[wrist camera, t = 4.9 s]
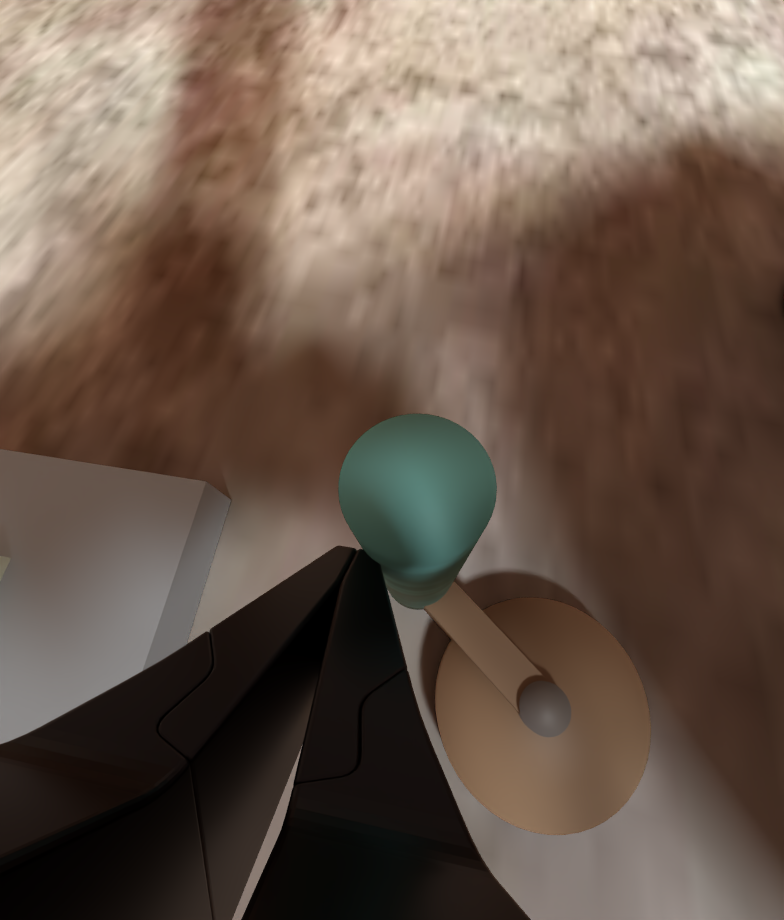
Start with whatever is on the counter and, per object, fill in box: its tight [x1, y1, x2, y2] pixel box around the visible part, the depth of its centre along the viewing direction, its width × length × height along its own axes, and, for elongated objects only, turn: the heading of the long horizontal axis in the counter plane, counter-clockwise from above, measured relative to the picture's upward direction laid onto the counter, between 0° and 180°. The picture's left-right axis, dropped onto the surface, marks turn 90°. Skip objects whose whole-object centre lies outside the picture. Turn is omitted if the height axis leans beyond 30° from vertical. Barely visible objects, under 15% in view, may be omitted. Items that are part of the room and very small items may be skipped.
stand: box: [0, 449, 231, 744], centre depth 16 cm, size 14×10×5 cm
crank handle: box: [338, 414, 651, 835], centre depth 12 cm, size 7×11×12 cm, turn 27°
